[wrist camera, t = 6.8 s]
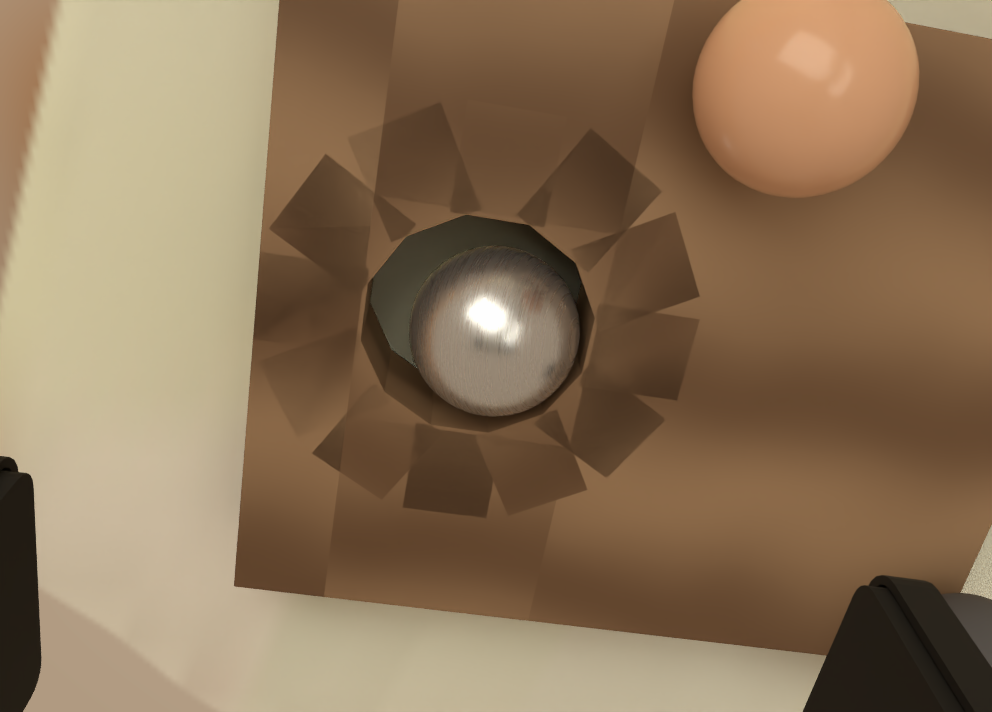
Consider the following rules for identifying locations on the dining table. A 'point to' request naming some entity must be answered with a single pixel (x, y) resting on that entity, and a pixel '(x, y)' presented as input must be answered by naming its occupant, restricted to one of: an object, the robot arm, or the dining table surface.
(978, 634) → the black ball
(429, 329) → the steel ball
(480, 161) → the board
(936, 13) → the dining table surface
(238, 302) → the dining table surface
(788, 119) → the terracotta ball
